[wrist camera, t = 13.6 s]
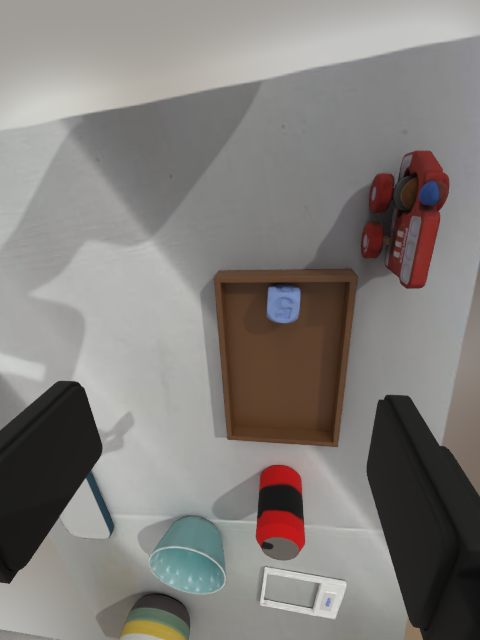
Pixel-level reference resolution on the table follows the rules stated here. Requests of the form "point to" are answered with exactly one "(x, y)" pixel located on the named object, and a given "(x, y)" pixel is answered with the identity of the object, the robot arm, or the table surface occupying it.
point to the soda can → (280, 513)
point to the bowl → (190, 557)
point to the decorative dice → (283, 303)
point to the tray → (285, 355)
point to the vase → (157, 620)
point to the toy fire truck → (408, 217)
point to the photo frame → (325, 599)
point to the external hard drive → (87, 513)
